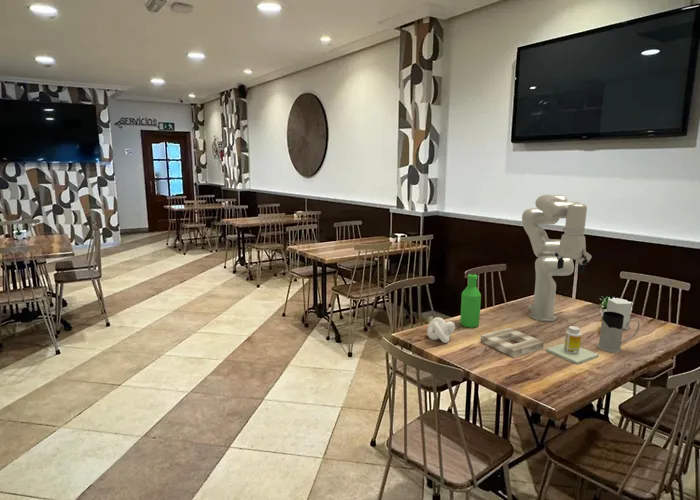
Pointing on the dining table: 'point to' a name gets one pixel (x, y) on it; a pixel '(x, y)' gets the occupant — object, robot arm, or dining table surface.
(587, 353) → the plate
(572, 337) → the supplement bottle
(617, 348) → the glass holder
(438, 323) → the white decorative knot
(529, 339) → the beige square frame
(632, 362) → the dining table surface
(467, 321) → the bottle
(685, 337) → the dining table surface
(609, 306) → the supplement box
